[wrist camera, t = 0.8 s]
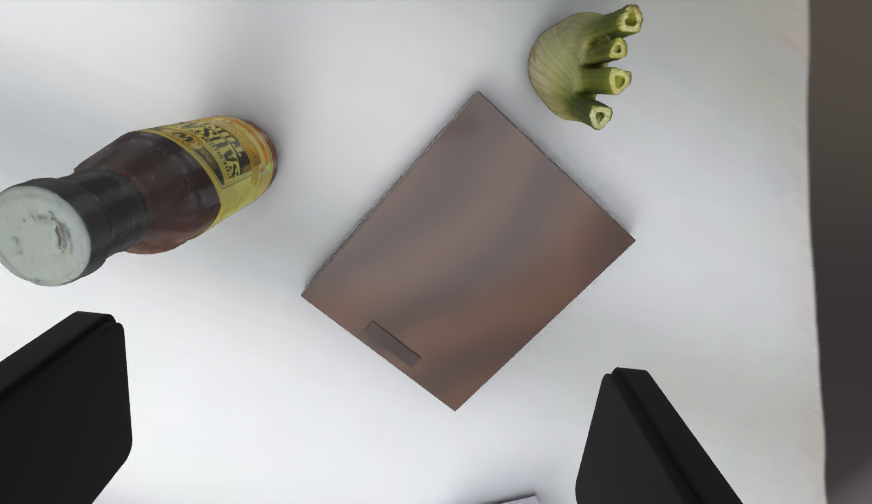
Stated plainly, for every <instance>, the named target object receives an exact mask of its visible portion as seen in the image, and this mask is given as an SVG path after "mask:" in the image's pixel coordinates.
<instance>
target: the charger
mask: <svg viewBox="0 0 872 504" xmlns="http://www.w3.org/2000/svg"><path fill="white" fill-rule="evenodd" d="M502 504H539V503H538V499H537V496H532V497H527V498H523V499H519V500H515V501H510V502H506V503H502Z"/></svg>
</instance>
